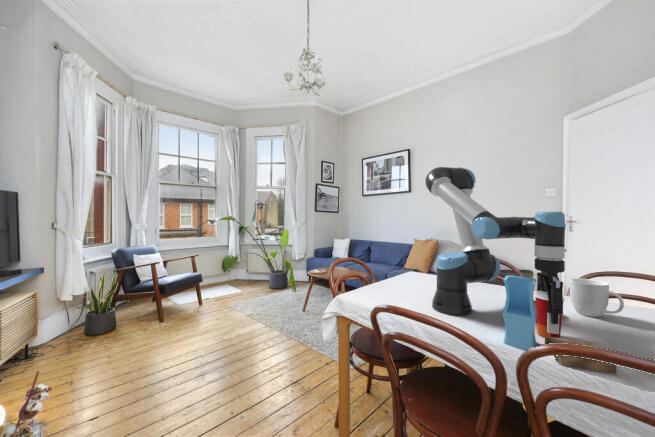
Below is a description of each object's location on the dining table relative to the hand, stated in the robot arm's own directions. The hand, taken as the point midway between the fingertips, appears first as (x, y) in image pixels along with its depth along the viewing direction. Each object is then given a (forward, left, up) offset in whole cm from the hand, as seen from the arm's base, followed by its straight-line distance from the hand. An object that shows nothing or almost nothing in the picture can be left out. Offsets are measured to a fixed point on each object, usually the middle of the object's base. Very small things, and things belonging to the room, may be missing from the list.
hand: (548, 328), depth 86 cm
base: (+2, -13, -3) cm, 14 cm away
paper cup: (0, 0, -3) cm, 3 cm away
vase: (-10, -9, -3) cm, 14 cm away
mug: (+23, +28, -3) cm, 36 cm away
